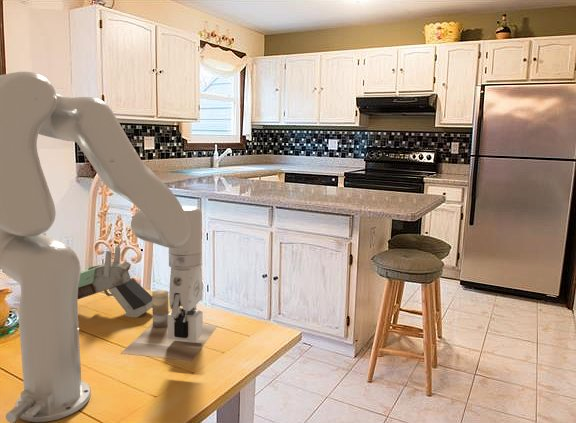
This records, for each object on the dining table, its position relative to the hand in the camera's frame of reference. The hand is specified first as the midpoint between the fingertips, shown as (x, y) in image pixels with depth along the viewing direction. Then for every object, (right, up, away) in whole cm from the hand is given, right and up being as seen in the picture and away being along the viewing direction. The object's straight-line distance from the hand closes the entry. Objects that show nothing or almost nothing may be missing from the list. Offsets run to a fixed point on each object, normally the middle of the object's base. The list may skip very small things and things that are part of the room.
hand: (185, 331), depth 106 cm
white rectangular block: (0, -1, 0) cm, 1 cm away
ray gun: (-30, 0, +19) cm, 35 cm away
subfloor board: (-4, -3, +3) cm, 6 cm away
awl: (-9, -1, +10) cm, 13 cm away
